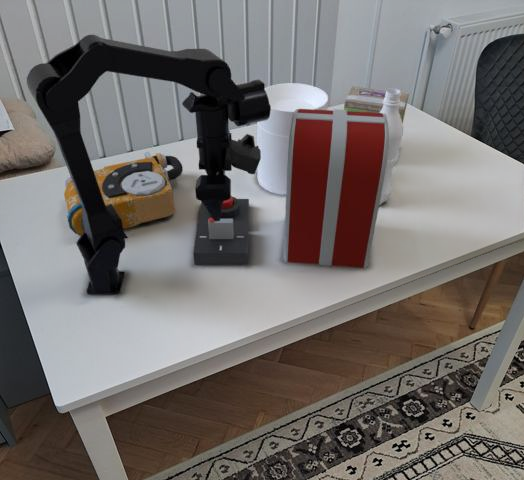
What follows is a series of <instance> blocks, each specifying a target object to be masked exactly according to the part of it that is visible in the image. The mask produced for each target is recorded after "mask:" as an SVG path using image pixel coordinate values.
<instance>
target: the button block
mask: <svg viewBox="0 0 524 480" xmlns="http://www.w3.org/2000/svg"><path fill="white" fill-rule="evenodd" d="M232 197H233V206H232V207H231V208H228V209H222V211H221V217H220V219H233V223H248V232H249V230H250V229H249V227H250V224H249V223H250V199H249V198H237V197H235V196H232ZM209 218H212V217H211V215H210V214H209V212H208V210H207V209H206V207H205V206H204V205H203V203H202V202H201V201H200V207H199V215H198V222H197V223H208V220H209Z"/></svg>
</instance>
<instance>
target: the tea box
mask: <svg viewBox="0 0 524 480" xmlns="http://www.w3.org/2000/svg"><path fill="white" fill-rule="evenodd" d="M385 94H386V90H380V89H373V88H367V87H359V86H351V88H350V90H349V92H348V94H347V96H346V98H345V101H344V105H343V110H347V111H352V112H372V113H380V111H381V110H382V108H383V105H384V104H383V100H384V98H385ZM409 95H410V94H409V93H404V92H401V95H400V105H399V114H400V117H401V120H402V124H404V119H405V115H406V110H407V105H408V100H409Z"/></svg>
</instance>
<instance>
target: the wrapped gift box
mask: <svg viewBox="0 0 524 480" xmlns="http://www.w3.org/2000/svg"><path fill="white" fill-rule="evenodd" d="M388 148H389V127H388V121H387V117H386V115H385V114H384V113H383V114H382V113H372V112H352V111H347V110H344V109H339V108H334V109H333V110H329V109H327V110H312V109H299V110H298V109H296V110H295V111H294V113H293V117H292V123H291V129H290V137H289V149H288V165H287V188H286V195H285V213H284V214H285V215H284V239H283V261H284V262H285V263H295V264H307V265H310V264H311V265H319V266H328V267H331V266H334V267H349V268H363V269H364V268H368V265H369V262H370V257H371V251H372V247H373V241H374V235H375V230H376V225H377V219H378V215H379V209H380V205H379V204H380V198H381V193H382V188H383V183H384V177H385V171H386V165H387V158H388Z"/></svg>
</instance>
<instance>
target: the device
mask: <svg viewBox="0 0 524 480" xmlns="http://www.w3.org/2000/svg"><path fill="white" fill-rule="evenodd" d="M168 166H171V167H172V168H171V169H168V170H167V169H166V168H168ZM183 168H184V167H183V164H182V163H181V161H180V159H178V157H176V156H173V155H165V153H159V152H157V153H155V155H152V154H151V152H150V151H146V152H145V151H144V158H140V159H136V160H131V161H126V162H121V163H117V164H111V165H107V166H104V167H103V168H101V169H95V170H93V171H94V173H95V176H96V179H97V182H98V185H99V188H100V191H101V194H102V197H103V200H104V203H105V206H108V205H110V204H112V205H113V207H114V208H115V210H116V211H117V213H118V215H119V216H120V218H121V220H122V224H123V229H127V228H131V227H136V226H139V225H140V224H143V223H144V224H145V223H148V222H152V221H155V220H158V219H162V218H167V217H170V216H171V215H173V214H174V213H175V211H176V205H175V198H174V191H173V186H172V184H171V183H170V181H173V180H175V179H177V178H179V177H180V176H182V173H183V172H184V170H183ZM64 183H65V186H64V187H65V190H64V192H63V196H64V201H65V204H66V212H67V216H66V218H67V222H68V226H69V229H70V230H71V231H72V232H73V233H74V234H75V235H78V236H79V237H80V236H81V235H82V233H83V232H84V231H85V230H84V224H83V218H82V205H81V202H80V199H79V197H78V194H77V192H76V189H75V186H74V184H73V181H72V178H71V176H70V177H67V178H66V180H65V181H64Z"/></svg>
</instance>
